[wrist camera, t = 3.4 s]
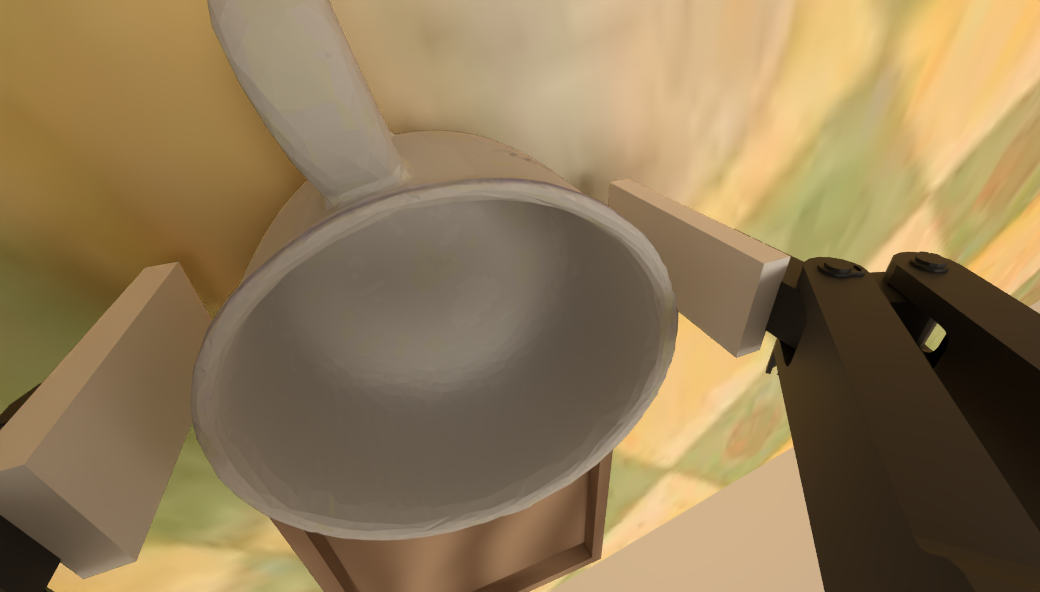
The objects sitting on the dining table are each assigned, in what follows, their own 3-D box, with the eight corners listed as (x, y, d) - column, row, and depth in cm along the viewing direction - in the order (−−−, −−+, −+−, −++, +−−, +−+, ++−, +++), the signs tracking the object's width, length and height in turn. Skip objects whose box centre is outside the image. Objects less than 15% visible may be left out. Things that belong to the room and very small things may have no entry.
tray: (374, 630, 28) (375, 662, 27) (266, 467, 18) (260, 504, 16) (589, 535, 33) (600, 558, 31) (601, 361, 22) (620, 383, 21)
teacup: (557, 330, 20) (658, 466, 14) (324, 404, 17) (316, 615, 11) (538, -34, 12) (755, -109, 6) (109, 1, 10) (-344, -67, 3)
